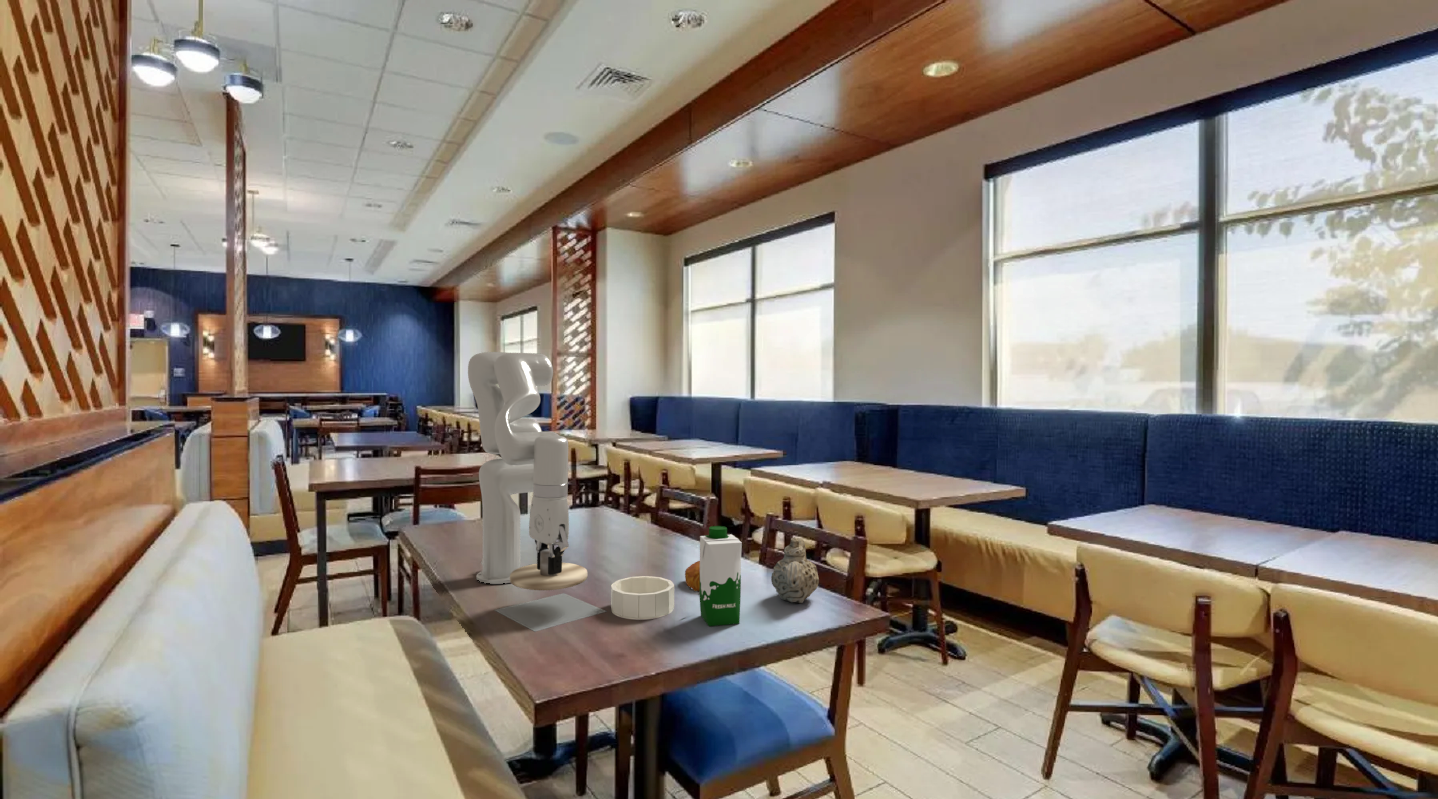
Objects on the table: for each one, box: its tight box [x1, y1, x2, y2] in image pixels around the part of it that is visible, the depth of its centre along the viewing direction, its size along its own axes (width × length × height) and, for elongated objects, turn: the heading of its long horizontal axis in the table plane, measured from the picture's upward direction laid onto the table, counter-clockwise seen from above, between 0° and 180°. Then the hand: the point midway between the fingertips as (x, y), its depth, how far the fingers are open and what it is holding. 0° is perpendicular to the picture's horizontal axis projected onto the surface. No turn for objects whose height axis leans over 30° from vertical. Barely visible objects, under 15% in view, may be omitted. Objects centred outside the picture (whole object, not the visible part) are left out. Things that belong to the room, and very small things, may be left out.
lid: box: [510, 548, 588, 591], centre depth 154 cm, size 17×17×6 cm
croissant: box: [684, 560, 700, 592], centre depth 176 cm, size 14×16×8 cm
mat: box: [494, 592, 608, 633], centre depth 154 cm, size 18×18×1 cm
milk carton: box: [698, 525, 743, 627], centre depth 150 cm, size 9×9×20 cm
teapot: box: [770, 536, 820, 604], centre depth 165 cm, size 21×12×15 cm, turn 168°
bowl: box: [610, 575, 675, 621], centre depth 155 cm, size 14×14×6 cm
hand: (549, 570), depth 154 cm, fingers closed on lid, 4 cm apart
